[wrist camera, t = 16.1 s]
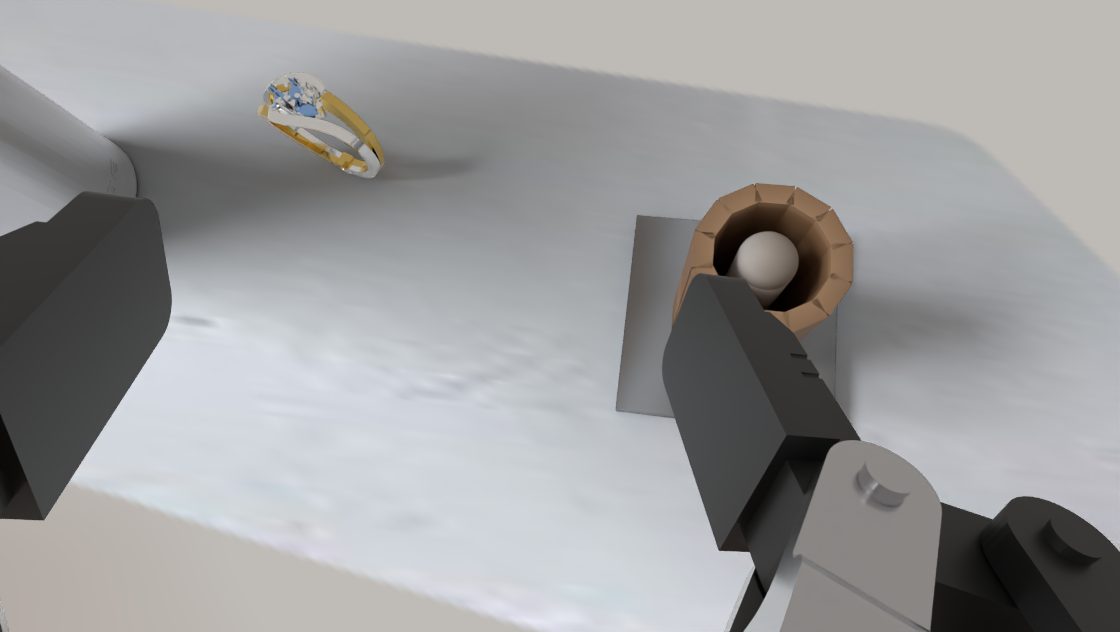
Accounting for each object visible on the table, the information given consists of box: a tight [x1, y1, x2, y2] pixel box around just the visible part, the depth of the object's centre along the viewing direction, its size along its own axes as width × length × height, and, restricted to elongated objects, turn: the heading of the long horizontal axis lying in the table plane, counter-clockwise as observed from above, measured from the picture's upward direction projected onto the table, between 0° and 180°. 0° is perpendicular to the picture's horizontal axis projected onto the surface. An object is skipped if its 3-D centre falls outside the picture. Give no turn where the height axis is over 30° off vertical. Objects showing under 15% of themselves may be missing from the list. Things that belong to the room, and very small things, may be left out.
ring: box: [256, 73, 385, 178], centre depth 36 cm, size 7×3×8 cm, turn 62°
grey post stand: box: [616, 215, 837, 418], centre depth 30 cm, size 11×11×11 cm
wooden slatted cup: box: [671, 183, 853, 341], centre depth 30 cm, size 6×6×10 cm
